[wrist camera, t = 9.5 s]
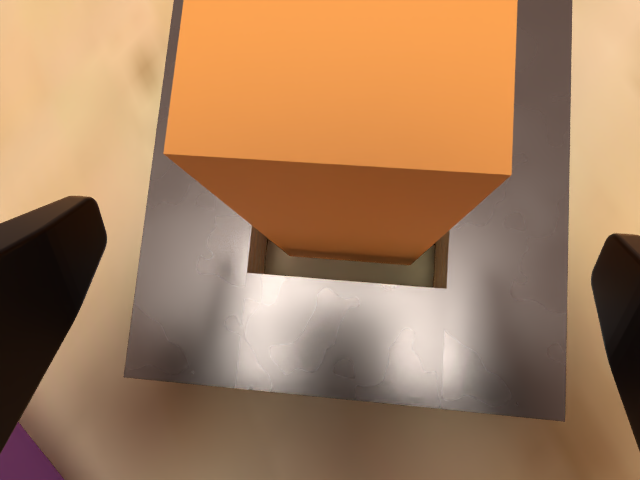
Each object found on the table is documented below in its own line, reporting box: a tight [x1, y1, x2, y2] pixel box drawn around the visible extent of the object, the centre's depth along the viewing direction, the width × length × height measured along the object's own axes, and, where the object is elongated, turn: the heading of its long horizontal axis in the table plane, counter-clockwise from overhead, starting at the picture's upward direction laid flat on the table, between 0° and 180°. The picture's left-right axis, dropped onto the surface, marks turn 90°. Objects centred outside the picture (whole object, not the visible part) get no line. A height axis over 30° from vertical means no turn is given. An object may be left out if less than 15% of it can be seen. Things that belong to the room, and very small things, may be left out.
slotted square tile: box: [124, 0, 572, 421], centre depth 16 cm, size 12×12×2 cm
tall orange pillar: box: [163, 0, 518, 265], centre depth 11 cm, size 4×4×11 cm
